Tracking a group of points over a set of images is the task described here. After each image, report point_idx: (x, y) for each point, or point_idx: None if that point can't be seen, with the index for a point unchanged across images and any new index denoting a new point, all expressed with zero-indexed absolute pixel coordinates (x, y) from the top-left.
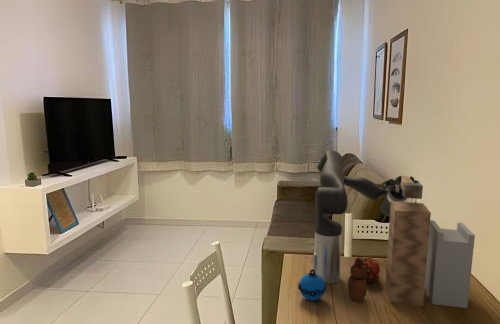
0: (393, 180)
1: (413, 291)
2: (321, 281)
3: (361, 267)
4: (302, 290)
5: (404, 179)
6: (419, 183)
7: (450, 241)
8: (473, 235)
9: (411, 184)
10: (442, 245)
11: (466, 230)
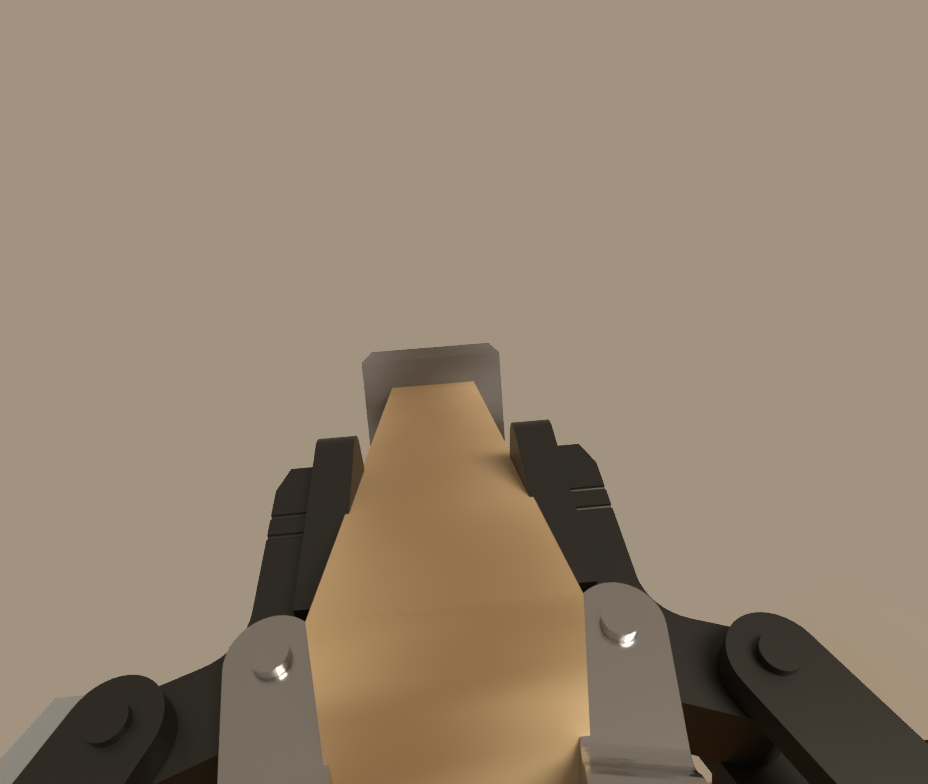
0: (696, 624)
1: None
2: None
3: (713, 780)
4: None
5: (465, 450)
6: (371, 360)
7: None
8: (63, 699)
9: (441, 349)
10: None
11: (19, 767)
